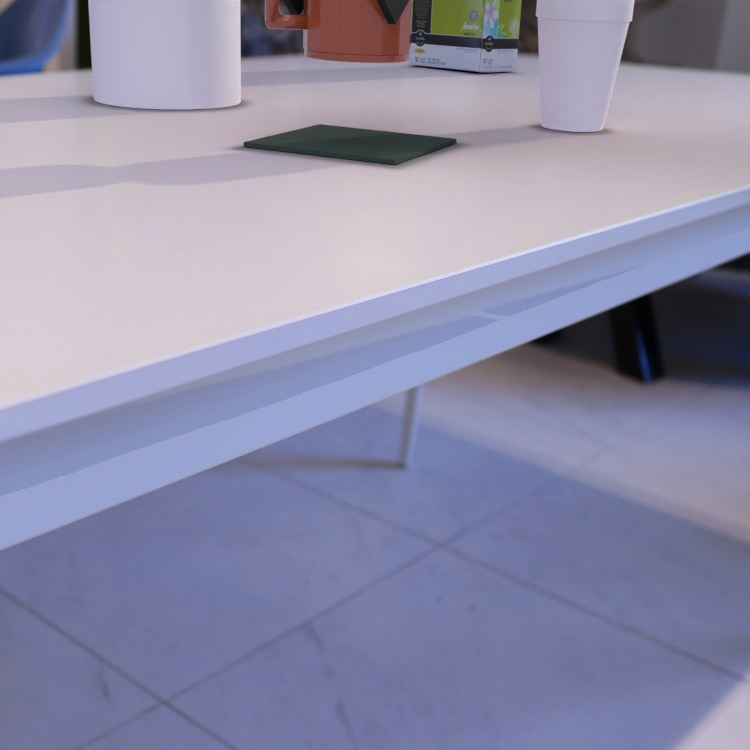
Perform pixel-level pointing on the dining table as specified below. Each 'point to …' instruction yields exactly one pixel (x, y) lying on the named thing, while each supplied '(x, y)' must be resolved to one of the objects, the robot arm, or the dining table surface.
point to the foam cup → (579, 60)
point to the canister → (166, 53)
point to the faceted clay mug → (347, 30)
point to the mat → (352, 143)
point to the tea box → (466, 34)
